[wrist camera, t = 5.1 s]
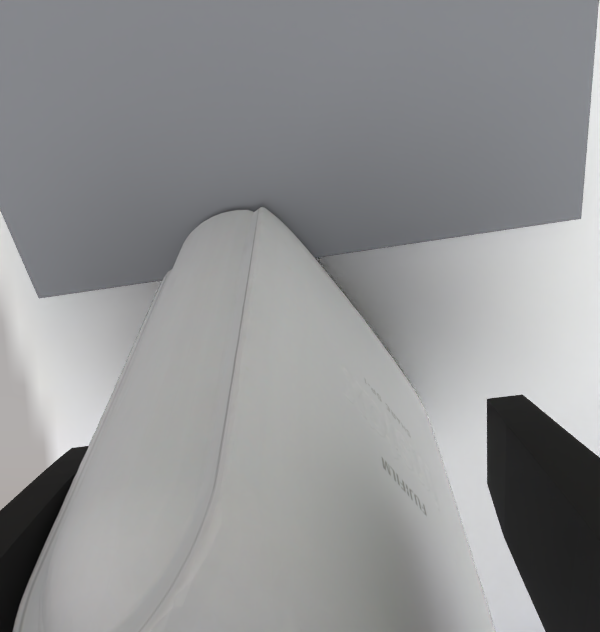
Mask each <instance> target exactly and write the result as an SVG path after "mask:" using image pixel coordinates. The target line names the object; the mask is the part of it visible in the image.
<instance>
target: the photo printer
mask: <svg viewBox="0 0 600 632" xmlns="http://www.w3.org/2000/svg"><path fill="white" fill-rule="evenodd" d="M13 632H496V631H495V628H494V624H493V621H492V618H491V615H490V611H489V608H488V605H487V602H486V598H485V595H484V592H483V588H482V585H481V582H480V579H479V576H478V572H477V569H476V566H475V563H474V560H473V556H472V553H471V550H470V547H469V544H468V540H467V537H466V534H465V531H464V528H463V525H462V521H461V518H460V515H459V512H458V509H457V505H456V502H455V499H454V496H453V493H452V489H451V486H450V483H449V480H448V477H447V473H446V470H445V467H444V464H443V461H442V458H441V455H440V451H439V448H438V445H437V442H436V439H435V436H434V433H433V429H432V426H431V424H430V421H429V418H428V416H427V413H426V411H425V409H424V407H423V404H422V402H421V401H420V399H419V397H418V395H417V393H416V392H415V390H414V389H413V387H412V386H411V384H410V382H409V381H408V379H407V378H406V377H405V375H404V374H403V372H402V371H401V369H400V368H399V367H398V365H397V364H396V362H395V361H394V359H393V358H392V357H391V355H390V354H389V353H388V351H387V350H386V348H385V347H384V346H383V344H382V343H381V342H380V340H379V339H378V338H377V336H376V335H375V334H374V332H373V331H372V330H371V328H370V327H369V326H368V324H367V323H366V322H365V320H364V319H363V318H362V316H361V315H360V314H359V313H358V311H357V310H356V309H355V307H354V306H353V305H352V304H351V302H350V301H349V300H348V298H347V297H346V296H345V295H344V293H343V292H342V291H341V290H340V288H339V287H338V286H337V285H336V284H335V282H334V281H333V280H332V279H331V277H330V276H329V275H328V274H327V272H326V271H325V270H324V269H323V268H322V266H321V265H320V264H319V263H318V261H317V260H316V259H315V258H314V257H313V255H312V254H311V253H310V252H309V251H308V250H307V248H306V247H305V246H304V245H303V244H302V243H301V241H300V240H299V239H298V238H297V237H296V236H295V234H294V233H293V232H292V231H291V230H290V229H289V228H288V227H287V226H286V225H285V224H284V223H283V222H281V221H280V220H279V219H278V218H277V217H276V216H275V215H273V214H272V213H271V212H270V211H269V210H267V209H266V208H264V207H260V208H259V209H258V210H256V211H255V212H253V211H250V210H234V211H228V212H224V213H221V214H218V215H216V216H213V217H211V218H209V219H207V220H206V221H204V222H202V223H201V224H200V225H199V226H198V227H196V228H195V229H194V230H193V231H192V232H191V233H190V234H189V236H188V237H187V238H186V240H185V242H184V243H183V246H182V248H181V250H180V252H179V255H178V257H177V259H176V262H175V264H174V266H173V269H172V270H170V271H168V272H167V274H166V275H165V277H164V278H163V280H162V282H161V284H160V286H159V288H158V291H157V293H156V295H155V298H154V300H153V302H152V304H151V306H150V309H149V311H148V313H147V316H146V318H145V320H144V323H143V325H142V327H141V329H140V332H139V335H138V336H137V339H136V341H135V343H134V346H133V348H132V350H131V352H130V354H129V356H128V359H127V361H126V364H125V366H124V368H123V370H122V373H121V375H120V377H119V379H118V381H117V384H116V386H115V388H114V391H113V393H112V395H111V398H110V400H109V402H108V404H107V406H106V409H105V411H104V413H103V415H102V417H101V419H100V422H99V424H98V427H97V429H96V431H95V433H94V435H93V437H92V440H91V442H90V444H89V447H88V449H87V451H86V454H85V456H84V458H83V460H82V462H81V464H80V466H79V469H78V471H77V473H76V475H75V477H74V479H73V481H72V484H71V487H70V489H69V491H68V493H67V495H66V497H65V500H64V502H63V505H62V507H61V509H60V512H59V514H58V516H57V518H56V520H55V522H54V524H53V527H52V529H51V531H50V533H49V536H48V538H47V540H46V542H45V545H44V547H43V549H42V551H41V554H40V556H39V558H38V561H37V563H36V565H35V568H34V570H33V572H32V574H31V577H30V579H29V582H28V584H27V587H26V589H25V592H24V594H23V597H22V599H21V602H20V605H19V609H18V612H17V616H16V619H15V623H14V628H13Z"/></svg>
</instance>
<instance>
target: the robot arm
mask: <svg viewBox="0 0 600 632" xmlns="http://www.w3.org/2000/svg"><path fill="white" fill-rule="evenodd" d="M88 447H89V446H85V447H77V448H71V449H70V450H69V451H68V452H66V453H65V454H64V455H63V456H61V457H60V458H59V459H58V460H57V461H55V462H54V463H53V464H52V465H51V466H50V467H48V468H47V469H46V470H45V471H44V472H43V473H42V474H40V476H38V477H37V478H36V479H35V480H34V481H33V482H32V483H30V484H29V485H28V486H27V487H26V488H25V489H24V490H23V491H22V492H21V493H20V494H18V495H17V496H16V497H15V498H14V499H13V500H12V501H11V502H10V503H8V504H7V505H6V506H5V507H4V508H3V509H2V510H1V511H0V632H13V628H14V623H15V619H16V616H17V612H18V609H19V605H20V602H21V599H22V597H23V594H24V592H25V589H26V587H27V584H28V582H29V579H30V577H31V574H32V572H33V570H34V568H35V565H36V563H37V561H38V558H39V556H40V554H41V551H42V549H43V547H44V545H45V542H46V540H47V538H48V536H49V533H50V531H51V529H52V527H53V524H54V522H55V520H56V518H57V516H58V514H59V512H60V509H61V507H62V505H63V502H64V500H65V497H66V495H67V493H68V491H69V489H70V487H71V484H72V481H73V479H74V477H75V475H76V473H77V471H78V469H79V466H80V464H81V462H82V460H83V458H84V456H85V454H86V451H87V449H88ZM487 484H488V487H489V491H490V494H491V497H492V500H493V504H494V507H495V510H496V514H497V517H498V520H499V523H500V526H501V529H502V532H503V535H504V538H505V540H506V543H507V545H508V547H509V550H510V552H511V554H512V557H513V559H514V561H515V563H516V566H517V568H518V570H519V573H520V575H521V577H522V579H523V582H524V584H525V586H526V588H527V591H528V593H529V595H530V597H531V600H532V602H533V604H534V606H535V609H536V611H537V613H538V615H539V618H540V620H541V622H542V624H543V627H544V629H545V631H546V632H600V457H598V456H597V455H596V454H594V453H593V452H592V451H591V450H589V449H588V448H587V447H586V446H584V445H583V444H582V443H581V442H579V441H578V440H577V439H576V438H574V437H573V436H572V435H571V434H570V433H568V432H567V431H566V430H565V429H563V428H562V427H561V426H560V425H559V424H557V423H556V422H555V421H554V420H553V419H551V418H550V417H549V416H548V415H547V414H545V413H544V412H543V411H542V410H541V409H539V408H538V407H537V406H536V405H535V404H533V403H532V402H531V401H530V400H528V399H527V398H526V397H525V396H523V395H516V396H507V397H499V398H490V399H487Z"/></svg>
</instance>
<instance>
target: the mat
mask: <svg viewBox="0 0 600 632" xmlns="http://www.w3.org/2000/svg"><path fill="white" fill-rule="evenodd" d="M598 5H599V0H0V210H1V213H2V215H3V217H4V219H5V222H6V224H7V226H8V229H9V231H10V233H11V236H12V238H13V240H14V242H15V245H16V247H17V249H18V252H19V254H20V256H21V258H22V261H23V263H24V265H25V268H26V270H27V272H28V275H29V277H30V279H31V281H32V284H33V286H34V288H35V291H36V293H37V295H38V297H39V298H45V297H52V296H59V295H65V294H72V293H79V292H86V291H93V290H99V289H106V288H113V287H120V286H127V285H133V284H140V283H147V282H154V281H161V280H163V278H164V277H165V275H166V274H167V272H168V271H170V270H172V269H173V266H174V264H175V262H176V259H177V257H178V255H179V252H180V250H181V248H182V246H183V243H184V242H185V240H186V238H187V237H188V236H189V234H190V233H191V232H192V231H193V230H194V229H195V228H196V227H198V226H199V225H200V224H201V223H202V222H204V221H206V220H207V219H209V218H211V217H213V216H216V215H218V214H221V213H224V212H228V211H234V210H250V211H253V212H255V211H256V210H258V209H259V208H260V207H264V208H266V209H267V210H269V211H270V212H271V213H272V214H273V215H275V216H276V217H277V218H278V219H279V220H280V221H281V222H283V223H284V224H285V225H286V226H287V227H288V228H289V229H290V230H291V231H292V232H293V233H294V234H295V236H296V237H297V238H298V239H299V240H300V241H301V243H302V244H303V245H304V246H305V247H306V248H307V250H308V251H309V252H310V253H311V254H312V255H313V257H314V258H317V257H324V256H331V255H337V254H344V253H351V252H358V251H365V250H371V249H378V248H385V247H392V246H399V245H405V244H412V243H419V242H426V241H433V240H439V239H446V238H453V237H460V236H467V235H473V234H480V233H487V232H494V231H501V230H507V229H514V228H521V227H528V226H535V225H541V224H548V223H555V222H562V221H569V220H575V219H581V212H582V200H583V188H584V176H585V164H586V151H587V139H588V127H589V115H590V102H591V90H592V78H593V66H594V53H595V41H596V29H597V17H598Z"/></svg>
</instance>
